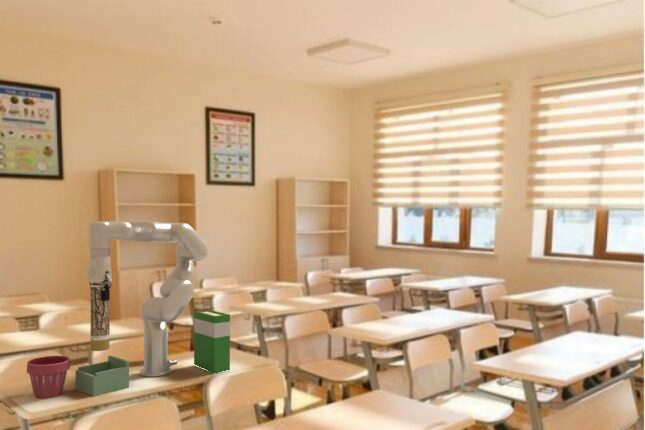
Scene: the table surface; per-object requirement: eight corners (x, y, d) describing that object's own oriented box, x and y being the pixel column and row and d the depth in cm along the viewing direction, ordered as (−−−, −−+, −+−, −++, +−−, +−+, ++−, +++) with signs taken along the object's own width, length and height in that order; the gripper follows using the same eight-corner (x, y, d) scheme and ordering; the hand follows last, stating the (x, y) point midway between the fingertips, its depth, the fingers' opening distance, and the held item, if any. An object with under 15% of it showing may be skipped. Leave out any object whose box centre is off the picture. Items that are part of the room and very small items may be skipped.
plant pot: (76, 394, 197) (76, 359, 197) (35, 403, 187) (36, 366, 187) (60, 386, 207) (60, 353, 207) (20, 395, 196) (20, 360, 197)
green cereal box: (194, 365, 238) (194, 311, 238) (208, 363, 243) (209, 309, 243) (214, 374, 225) (214, 316, 225) (229, 370, 229) (229, 314, 230)
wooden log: (102, 351, 203) (103, 285, 203) (86, 351, 204) (86, 285, 204) (113, 347, 209) (113, 283, 210) (97, 347, 211) (97, 283, 211)
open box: (110, 380, 215) (110, 355, 215) (129, 387, 206) (129, 361, 206) (75, 388, 204) (75, 362, 204) (93, 396, 195) (93, 368, 195)
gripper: (79, 253, 210) (79, 299, 210) (102, 254, 199) (102, 302, 199) (97, 252, 216) (97, 296, 215) (121, 253, 205) (121, 300, 205)
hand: (100, 299), depth 207 cm, fingers closed on wooden log, 6 cm apart
